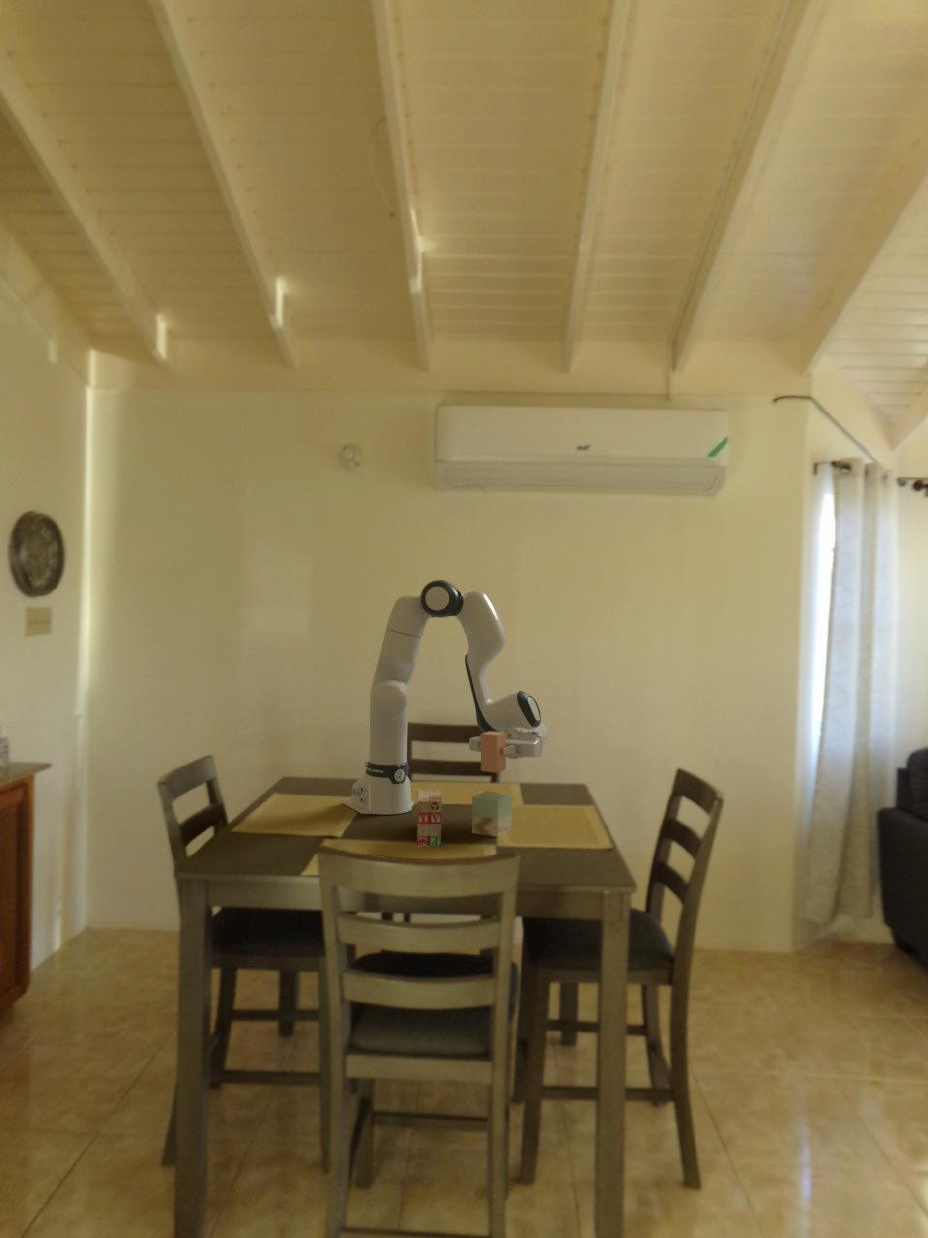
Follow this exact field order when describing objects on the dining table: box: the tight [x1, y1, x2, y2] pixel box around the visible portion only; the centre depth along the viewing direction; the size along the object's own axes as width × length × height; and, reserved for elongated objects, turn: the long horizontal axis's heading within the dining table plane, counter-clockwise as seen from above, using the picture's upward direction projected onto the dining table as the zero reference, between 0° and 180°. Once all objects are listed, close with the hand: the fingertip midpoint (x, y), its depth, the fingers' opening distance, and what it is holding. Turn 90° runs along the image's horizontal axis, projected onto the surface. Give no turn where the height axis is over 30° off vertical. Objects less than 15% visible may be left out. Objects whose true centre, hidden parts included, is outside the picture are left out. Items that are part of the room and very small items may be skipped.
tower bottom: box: [471, 812, 513, 838], centre depth 255 cm, size 8×8×5 cm
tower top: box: [471, 790, 513, 819], centre depth 255 cm, size 8×8×5 cm
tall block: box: [480, 731, 507, 774], centre depth 254 cm, size 5×5×10 cm
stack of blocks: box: [416, 789, 443, 848], centre depth 249 cm, size 21×6×12 cm, turn 3°
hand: (491, 750), depth 253 cm, fingers closed on tall block, 5 cm apart
